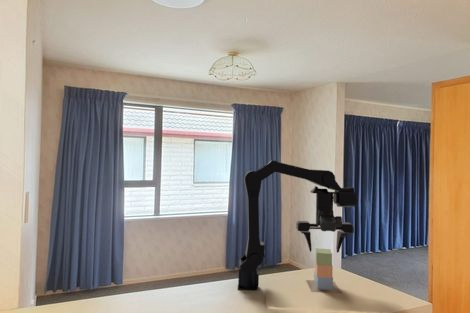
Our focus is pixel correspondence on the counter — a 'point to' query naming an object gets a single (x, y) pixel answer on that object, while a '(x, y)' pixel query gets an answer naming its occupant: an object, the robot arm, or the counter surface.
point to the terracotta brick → (323, 271)
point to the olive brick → (323, 257)
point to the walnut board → (314, 288)
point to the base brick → (323, 282)
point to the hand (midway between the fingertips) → (323, 251)
